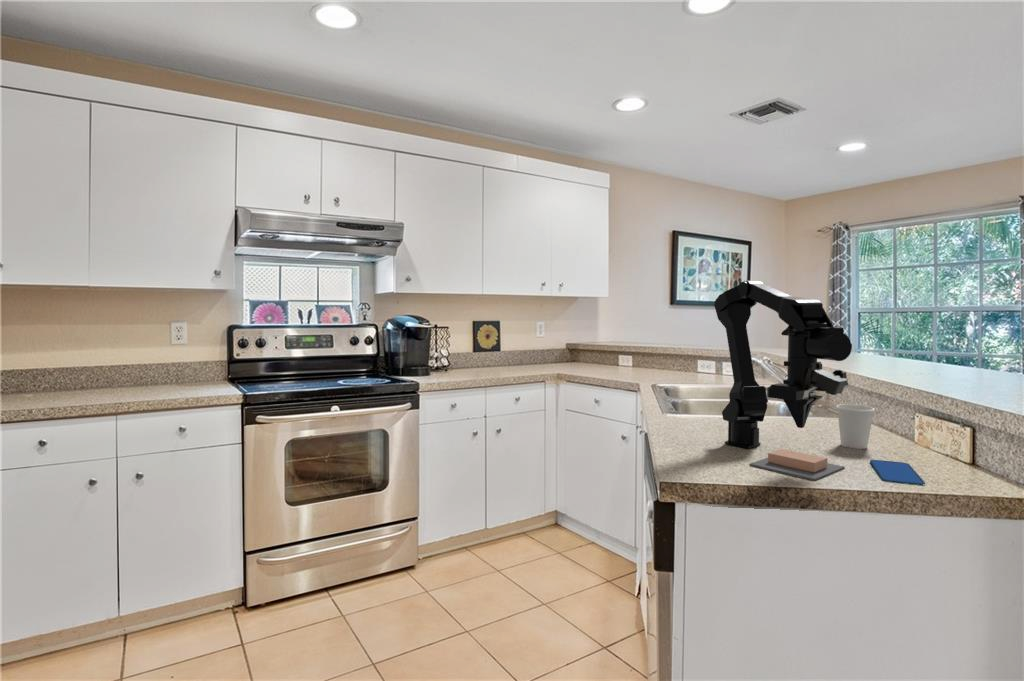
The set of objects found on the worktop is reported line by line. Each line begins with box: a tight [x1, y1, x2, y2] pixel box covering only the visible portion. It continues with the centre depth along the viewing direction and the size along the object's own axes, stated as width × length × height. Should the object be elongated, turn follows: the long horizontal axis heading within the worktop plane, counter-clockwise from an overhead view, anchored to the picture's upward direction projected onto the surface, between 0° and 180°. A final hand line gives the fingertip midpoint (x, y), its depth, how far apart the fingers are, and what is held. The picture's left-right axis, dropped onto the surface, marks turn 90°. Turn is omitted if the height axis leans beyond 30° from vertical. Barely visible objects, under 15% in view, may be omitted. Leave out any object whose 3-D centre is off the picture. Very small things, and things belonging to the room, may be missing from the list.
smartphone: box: [869, 459, 926, 486], centre depth 117 cm, size 7×1×15 cm
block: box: [767, 448, 828, 472], centre depth 122 cm, size 10×2×6 cm
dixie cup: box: [835, 403, 876, 450], centre depth 140 cm, size 8×8×10 cm
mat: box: [749, 457, 846, 482], centre depth 122 cm, size 14×14×1 cm
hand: (800, 427), depth 122 cm, fingers closed
